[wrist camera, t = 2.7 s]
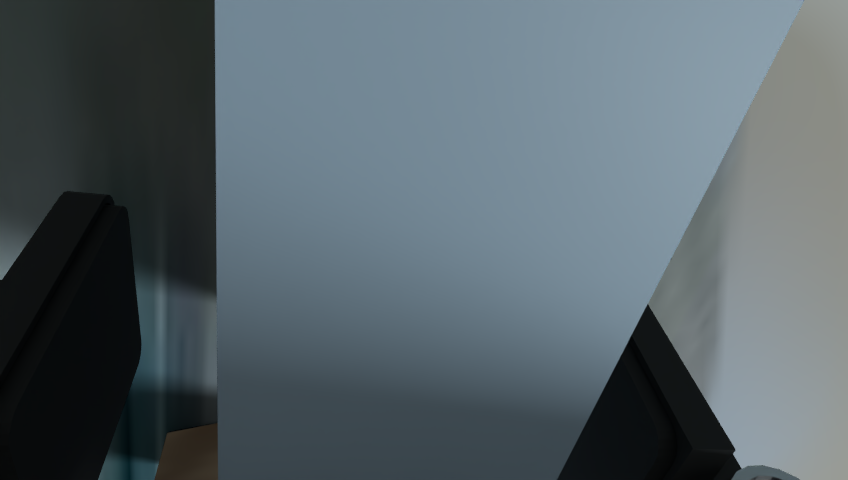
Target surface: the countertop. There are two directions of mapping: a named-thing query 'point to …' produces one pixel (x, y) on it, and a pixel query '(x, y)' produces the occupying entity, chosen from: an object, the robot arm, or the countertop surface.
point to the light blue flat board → (454, 218)
